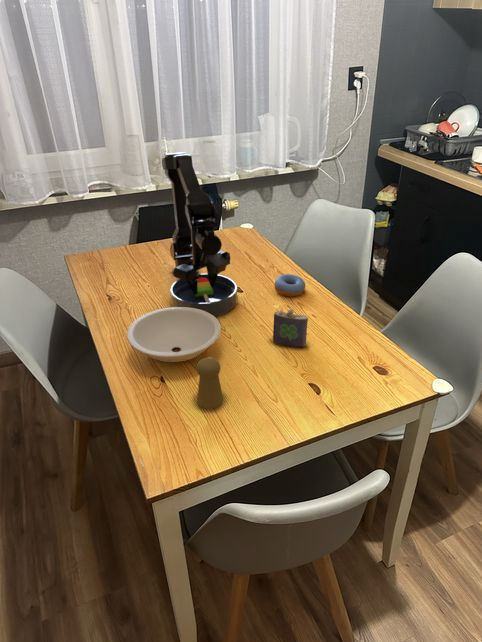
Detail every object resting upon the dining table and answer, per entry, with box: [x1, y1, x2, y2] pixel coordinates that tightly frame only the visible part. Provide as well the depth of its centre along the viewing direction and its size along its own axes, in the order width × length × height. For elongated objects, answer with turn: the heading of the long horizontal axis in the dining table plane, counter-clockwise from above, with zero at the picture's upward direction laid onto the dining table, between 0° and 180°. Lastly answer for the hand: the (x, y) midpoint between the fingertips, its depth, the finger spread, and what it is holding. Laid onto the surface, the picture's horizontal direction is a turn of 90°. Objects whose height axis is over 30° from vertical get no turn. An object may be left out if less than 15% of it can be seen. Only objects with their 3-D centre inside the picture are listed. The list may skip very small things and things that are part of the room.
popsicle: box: [195, 278, 213, 303], centre depth 152 cm, size 6×15×2 cm, turn 17°
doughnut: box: [274, 273, 306, 297], centre depth 160 cm, size 10×10×5 cm
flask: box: [272, 308, 309, 349], centre depth 132 cm, size 9×3×11 cm, turn 74°
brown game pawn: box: [196, 357, 224, 410], centre depth 112 cm, size 6×6×11 cm
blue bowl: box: [169, 273, 238, 318], centre depth 153 cm, size 20×20×5 cm
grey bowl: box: [126, 306, 222, 363], centre depth 130 cm, size 24×24×7 cm
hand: (203, 290), depth 152 cm, fingers closed on popsicle, 7 cm apart
